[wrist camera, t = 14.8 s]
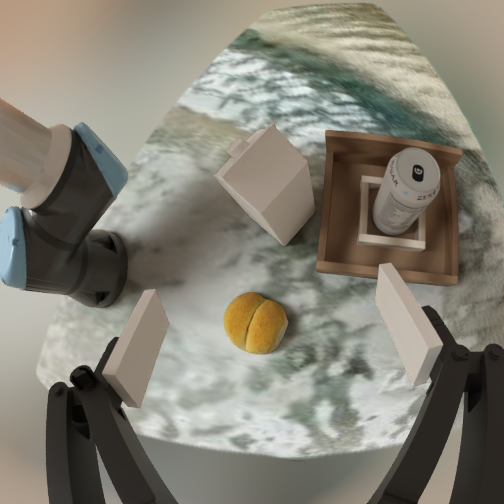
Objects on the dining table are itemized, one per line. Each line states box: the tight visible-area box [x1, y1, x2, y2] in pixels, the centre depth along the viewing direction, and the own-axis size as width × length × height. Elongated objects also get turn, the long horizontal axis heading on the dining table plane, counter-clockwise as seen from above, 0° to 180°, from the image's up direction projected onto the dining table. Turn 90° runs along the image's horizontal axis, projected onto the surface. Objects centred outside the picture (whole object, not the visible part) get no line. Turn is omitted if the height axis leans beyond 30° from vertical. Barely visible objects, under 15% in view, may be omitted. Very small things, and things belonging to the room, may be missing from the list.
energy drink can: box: [372, 148, 440, 235], centre depth 30 cm, size 6×6×15 cm
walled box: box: [316, 130, 463, 286], centre depth 34 cm, size 20×18×8 cm
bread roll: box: [224, 292, 289, 354], centre depth 38 cm, size 8×9×4 cm
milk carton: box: [214, 122, 316, 246], centre depth 33 cm, size 7×7×19 cm
